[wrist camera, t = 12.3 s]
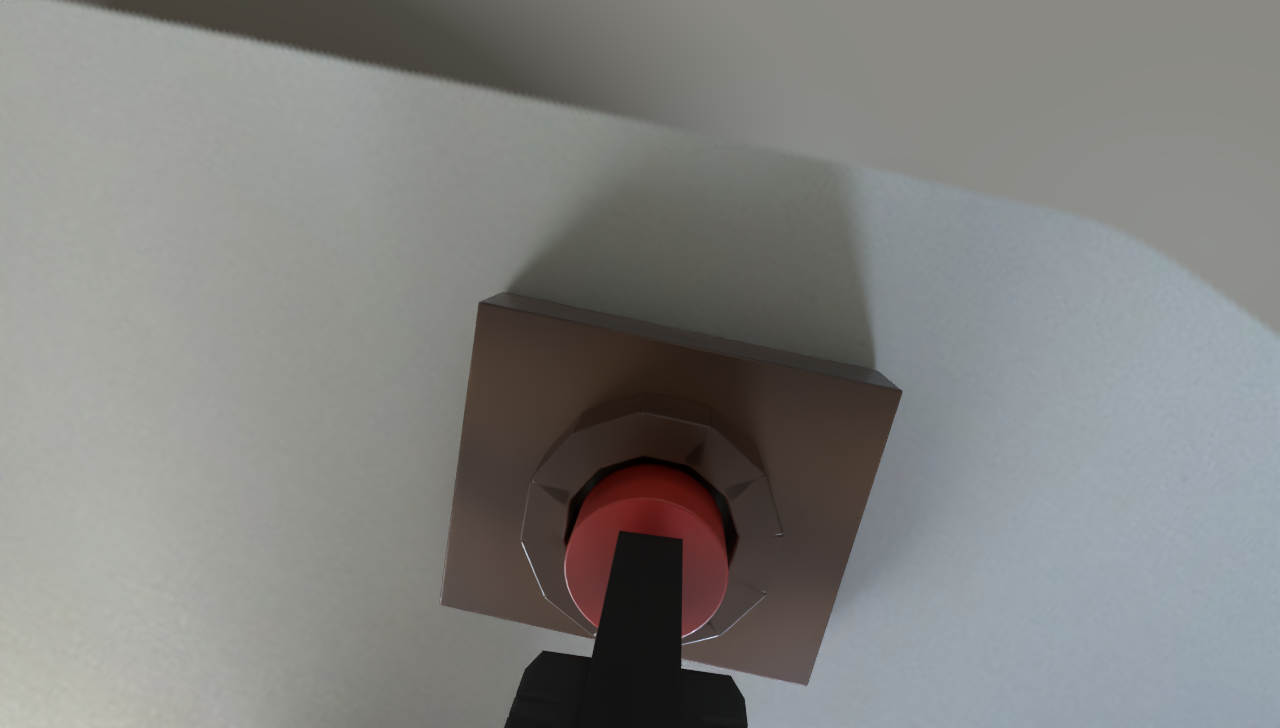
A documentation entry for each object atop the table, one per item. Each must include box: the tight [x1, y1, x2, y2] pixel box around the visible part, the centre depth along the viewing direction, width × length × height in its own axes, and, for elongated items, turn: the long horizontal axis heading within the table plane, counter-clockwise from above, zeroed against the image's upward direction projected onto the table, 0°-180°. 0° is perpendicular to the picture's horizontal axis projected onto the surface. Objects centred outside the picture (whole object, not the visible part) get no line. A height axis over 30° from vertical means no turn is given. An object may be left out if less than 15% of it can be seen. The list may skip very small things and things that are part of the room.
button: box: [564, 464, 729, 638], centre depth 15 cm, size 4×4×2 cm
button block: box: [440, 292, 902, 686], centre depth 18 cm, size 10×12×4 cm
